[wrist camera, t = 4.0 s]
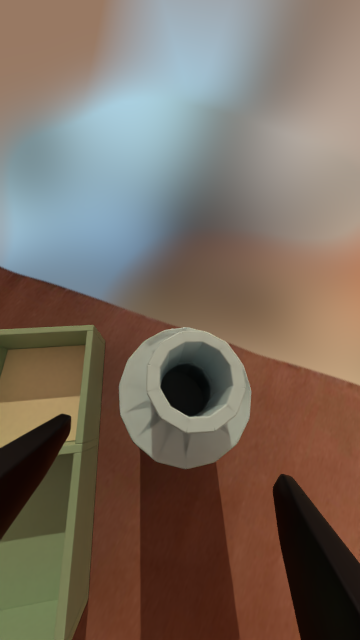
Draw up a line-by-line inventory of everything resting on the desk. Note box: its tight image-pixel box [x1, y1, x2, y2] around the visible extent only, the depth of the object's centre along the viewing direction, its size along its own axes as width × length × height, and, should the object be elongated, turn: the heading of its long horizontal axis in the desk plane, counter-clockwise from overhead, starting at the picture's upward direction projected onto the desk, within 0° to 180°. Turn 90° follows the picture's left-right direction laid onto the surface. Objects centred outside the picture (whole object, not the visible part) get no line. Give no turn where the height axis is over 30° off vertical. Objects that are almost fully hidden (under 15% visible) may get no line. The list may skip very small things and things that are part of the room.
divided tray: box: [0, 325, 105, 640], centre depth 14 cm, size 18×9×4 cm, turn 6°
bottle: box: [119, 327, 251, 469], centre depth 13 cm, size 6×6×13 cm
